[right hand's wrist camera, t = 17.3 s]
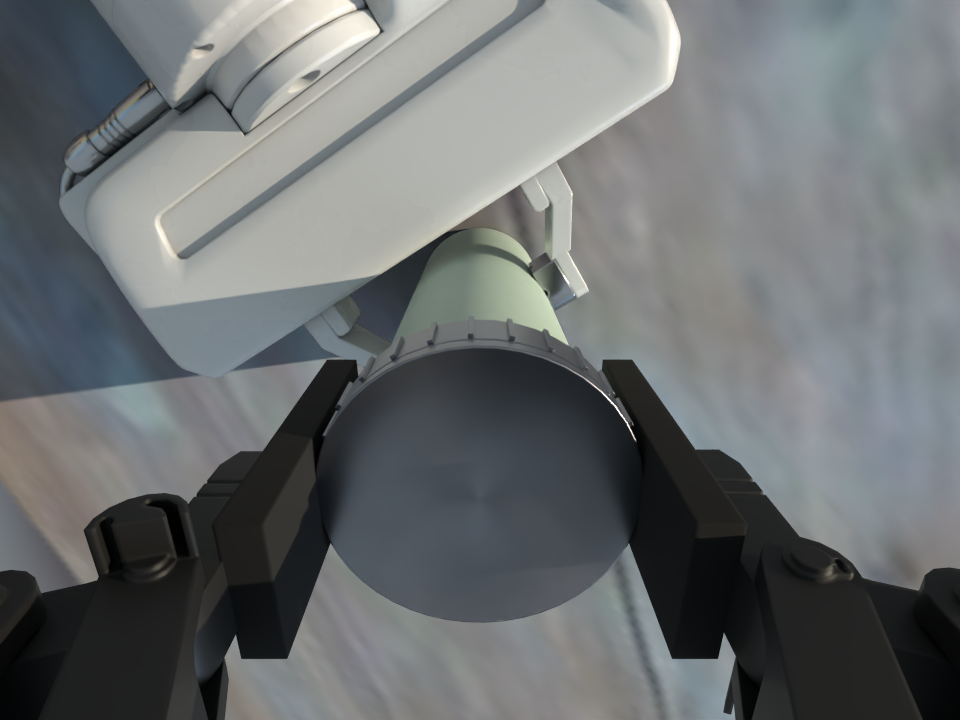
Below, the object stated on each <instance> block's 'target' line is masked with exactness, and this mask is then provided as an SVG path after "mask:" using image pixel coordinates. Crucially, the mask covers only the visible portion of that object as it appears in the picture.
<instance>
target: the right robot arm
mask: <svg viewBox="0 0 960 720" xmlns="http://www.w3.org/2000/svg"><path fill="white" fill-rule="evenodd" d="M602 371H603V373H604V374H605V376H606V378H607V380H608V382H609V384H610V385H611V387H612V389H613V391H614V393H615V396H614V398H615V399H616V398H619V399H620V401H621V403H622V404H623V406H624V408H625V410H626V412H627V413H628V415H629V417H630V419H631V421H632V423H633V426H631V427H630V428H631V430H632V432H633V434H634V436H635V438H636V441H637V444H638V447H639V450H640V454H641V457H642V463H643V470H644V477H643V486H642V494H641V501H640V509H639V516H638V523H637V526H636V529H635V531H634V533H633V535H632V537H631V539H630V541H629V544H630V547H631V550H632V552H633V555H634V558H635V560H636V563H637V566H638V568H639V571H640V574H641V576H642V579H643V582H644V584H645V587H646V590H647V592H648V595H649V598H650V601H651V603H652V606H653V609H654V611H655V614H656V617H657V619H658V622H659V625H660V627H661V630H662V633H663V635H664V638H665V641H666V643H667V646H668V649H669V651H670V654H671V657H672V659H718V656H719V652H720V647H721V643H722V638H723V634H724V633H725V635H726V637H727V639H728V641H729V643H730V645H731V647H732V649H733V651H734V653H735V655H736V658H735V662H734V667H733V671H732V675H731V679H730V683H729V687H728V692H727V696H726V700H725V706H724V713H727V714H731V712H732V708H733V704H734V709H735V718H736V720H960V569H956V568H939V569H933V570H932V571H930V572H929V573H927V574H926V575H925V576H924V579H923V582H922V584H921V587H920V589H919V591H917V590H912V589H908V588H903V587H898V586H894V585H889V584H885V583H880V582H876V581H871V580H868V579H864V578H862V576H861V575H860V573H859V572H858V571H857V569H856V568H855V566H854V565H853V564H852V563H851V562H850V561H849V560H847V559H846V558H845V557H844V556H842V555H841V554H840V553H839V552H837V551H835V550H833V549H831V548H829V547H827V546H825V545H823V544H821V543H819V542H816V541H812V540H809V539H805V538H802V537H799V535H798V534H797V533H796V532H795V530H794V529H793V528H792V527H791V526H790V524H789V523H788V522H787V521H786V519H785V518H784V517H783V516H782V514H781V513H780V512H779V511H778V510H777V508H776V507H775V506H774V505H773V503H772V502H771V501H770V500H769V498H768V497H767V496H766V495H763V491H762V490H761V489H760V487H759V486H758V485H757V484H756V483H755V482H753V481H752V478H751V476H750V475H749V474H748V473H747V471H746V470H745V469H744V468H743V467H742V465H741V464H740V463H739V462H737V461H736V460H734V459H733V458H731V457H730V456H728V455H726V454H725V453H723V452H722V451H720V450H695V448H694V447H693V446H692V444H691V443H690V441H689V440H688V438H687V437H686V436H685V434H684V433H683V431H682V430H681V428H680V427H679V426H678V424H677V423H676V421H675V420H674V419H673V417H672V416H671V414H670V413H669V411H668V410H667V409H666V407H665V406H664V404H663V403H662V402H661V400H660V399H659V397H658V396H657V394H656V393H655V392H654V390H653V389H652V387H651V386H650V384H649V383H648V382H647V380H646V379H645V377H644V376H643V375H642V373H641V372H640V370H639V369H638V367H637V366H636V365H635V363H634V362H633V360H603V364H602ZM357 378H358V371H357V360H327V361H326V362H325V364H324V365H323V367H322V368H321V369H320V371H319V372H318V374H317V375H316V376H315V378H314V379H313V381H312V382H311V384H310V385H309V386H308V388H307V389H306V391H305V392H304V394H303V395H302V396H301V398H300V399H299V401H298V402H297V403H296V405H295V406H294V408H293V409H292V411H291V412H290V413H289V415H288V416H287V418H286V419H285V421H284V422H283V423H282V425H281V426H280V428H279V429H278V430H277V432H276V433H275V435H274V436H273V438H272V439H271V440H270V442H269V443H268V445H267V446H266V448H265V449H264V450H263V451H241V452H239V453H238V454H236V455H234V456H233V457H231V458H230V459H228V460H227V461H225V462H224V463H222V464H221V465H220V466H219V467H218V468H217V469H216V470H215V472H214V473H213V474H212V475H211V477H210V478H209V479H208V480H207V484H204V485H203V487H202V488H201V489H200V490H199V492H198V493H197V497H194V498H193V499H192V500H191V501H190V503H189V504H188V503H187V502H186V501H185V500H184V499H183V498H181V497H180V496H178V495H172V494H167V493H160V494H147V495H143V496H139V497H136V498H132V499H128V500H126V501H123V502H121V503H119V504H117V505H114V506H112V507H110V508H108V509H107V510H105V511H104V512H102V513H101V514H99V515H98V516H96V517H95V518H93V520H92V521H91V522H90V523H89V524H88V526H87V527H86V528H85V529H84V533H85V536H86V539H87V542H88V545H89V548H90V551H91V554H92V557H93V560H94V563H95V566H96V569H97V572H98V575H99V577H98V580H97V581H93V582H90V583H86V584H81V585H77V586H72V587H68V588H63V589H59V590H54V591H50V592H45V593H41V592H40V589H39V586H38V584H37V581H36V579H35V577H33V576H32V575H31V574H29V573H28V572H26V571H16V570H8V571H2V572H0V720H225V710H226V700H227V691H228V681H229V679H228V672H227V667H226V662H225V658H224V657H225V655H226V653H227V651H228V649H229V647H230V645H231V643H232V641H233V639H234V637H235V635H236V637H237V641H238V646H239V650H240V654H241V659H287V658H288V655H289V653H290V650H291V647H292V645H293V642H294V639H295V637H296V634H297V631H298V629H299V626H300V623H301V620H302V618H303V615H304V612H305V610H306V607H307V604H308V602H309V599H310V596H311V594H312V591H313V588H314V586H315V583H316V580H317V578H318V575H319V572H320V570H321V567H322V564H323V561H324V559H325V556H326V553H327V551H328V548H329V545H330V543H331V542H330V540H329V539H328V537H327V534H326V532H325V529H324V527H323V525H322V521H321V514H320V507H319V499H318V492H317V484H316V466H317V461H318V457H319V452H320V448H321V446H322V443H323V441H324V440H322V439H321V438H322V435H323V433H324V431H325V430H326V428H327V426H328V424H329V422H330V420H331V418H332V417H333V415H334V413H335V411H338V409H336V408H335V407H336V405H337V403H338V401H339V400H340V398H341V396H342V394H343V392H344V391H345V389H346V387H347V385H348V383H349V382H352V383H354V381H355V380H356V379H357Z"/></svg>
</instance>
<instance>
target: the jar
mask: <svg viewBox="0 0 960 720" xmlns="http://www.w3.org/2000/svg"><path fill="white" fill-rule="evenodd" d="M530 262H531V259H530V257H529V256H528V254H527V252H526V251H525V250H524V249H523V247H522V246H521V245H520V244H519V243H518V242H517V241H515V240H514V239H513V238H511V237H510V236H508V235H506V234H504V233H502V232H499V231H497V230H492V229H487V228H472V229H467V230H463V231H460V232H458V233H455V234H453V235H451V236H450V237H448V238H447V239H445V240H444V241H443V242H442V243H441V244H439V246H438V247H437V248H436V249H435V250H434V252H433V253H432V255H431V256H430V258H429V260H428V262H427V264H426V267H425V269H424V271H423V274H422V276H421V278H420V280H419V283H418V285H417V287H416V289H415V292H414V294H413V296H412V298H411V301H410V303H409V305H408V308H407V310H406V312H405V314H404V317H403V319H402V321H401V323H400V326H399V328H398V330H397V333H396V335H395V337H394V339H393V342H392V344H391V346H392V345H393V344H395V342H396V339H397V337H399V336H401V335H402V337H403V338H406V337H407V336H409V335H411V334H413V333H416V332H418V331H421V330H424V329H427V328H429V327H430V326H431V323H433V322H437V325H440V324H445V323H449V322H454V321H465V320H469V316H474V320H497V321H504V322H506V321H507V318H509V319H512V320H513V323H516V324H520V325H523V326H527V327H530V328H534V329H537V330H539V331H541V332H542V331H543V329H546V330H548V331H549V334H550V336H553V337H555V338H556V339H558V340H560V341H561V342H563V343H565V344H566V345H568V343H567V341H566V338H565V336H564V334H563V332H562V329H561V327H560V325H559V323H558V320H557V318H556V316H555V313H554V311H553V309H552V307H551V304H550V302H549V300H548V298H547V295H546V293H545V291H544V290H543V289H542V288H541V287H540V286H539V284H538V283H537V281H536V279H535V278H534V276H533V274H532V272H531V269H530V267H529V265H528V263H530ZM568 346H569V345H568Z"/></svg>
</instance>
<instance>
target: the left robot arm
mask: <svg viewBox="0 0 960 720" xmlns="http://www.w3.org/2000/svg"><path fill="white" fill-rule="evenodd" d="M90 1H91V2H92V4H93V5H94V6H95V8H96V9H97V10H98V12H99V13H100V14H101V16H102V17H103V18H104V20H105V21H106V22H107V24H108V25H109V26H110V28H111V29H112V30H113V32H114V33H115V34H116V35H117V37H118V38H119V39H120V41H121V42H122V43H123V45H124V46H125V47H126V49H127V50H128V51H129V53H130V54H131V55H132V57H133V58H134V59H135V61H136V62H137V63H138V65H139V66H140V67H141V68H142V70H143V71H144V72H145V74H146V75H147V76H148V79H146V80H145V81H144V82H143V83H141V84H140V85H139V86H138V87H137V88H136V89H135V90H134V91H132V92H131V93H130V94H129V95H127V96H126V97H125V98H124V99H123V100H121V101H120V102H119V103H118V104H117V105H116V106H115V107H114V109H113V110H112V111H111V112H110V113H109V114H108V115H107V116H106V117H105V119H104V120H102V121H101V122H100V123H99V124H98V125H97V126H95V127H94V128H93V129H92V130H86V131H85V132H83V133H81V134H80V135H78V136H77V137H76V138H75V139H73V140H72V141H71V143H70V144H69V145H68V146H67V147H66V148H65V150H64V152H63V154H62V160H63V162H64V163H65V165H66V166H65V168H64V170H63V172H62V174H61V178H60V185H59V191H60V200H59V206H60V208H61V211H62V213H63V214H64V216H65V218H66V219H67V221H68V222H69V223H70V224H71V226H72V227H73V228H74V229H75V230H76V231H77V232H78V233H79V235H80V236H81V237H82V238H83V239H84V240H85V241H86V243H87V244H88V245H89V246H90V247H91V248H92V249H93V250H94V252H95V253H96V254H97V255H99V257H100V259H101V260H102V262H103V264H104V265H105V267H106V268H107V270H108V272H109V273H110V275H111V276H112V278H113V279H114V281H115V282H116V284H117V286H118V287H119V289H120V290H121V292H122V293H123V294H124V296H125V297H126V299H127V300H128V302H129V303H130V305H131V306H132V307H133V309H134V310H135V312H136V313H137V314H138V316H139V317H140V318H141V320H142V321H143V323H144V324H145V325H146V327H147V328H148V329H149V331H150V332H151V333H152V335H153V336H154V337H155V338H156V340H157V341H158V342H159V344H160V345H161V346H162V347H163V349H164V350H165V351H166V352H167V354H168V355H169V356H170V357H171V358H172V359H173V360H174V361H175V363H176V364H177V365H179V366H180V367H181V368H183V369H184V370H187V371H190V372H193V373H196V374H199V375H202V376H205V377H209V378H212V379H217V378H220V377H222V376H224V375H225V374H227V373H228V372H230V371H231V370H233V369H235V368H236V367H238V366H239V365H241V364H242V363H244V362H245V361H247V360H248V359H250V358H252V357H253V356H255V355H256V354H258V353H259V352H261V351H262V350H264V349H266V348H267V347H269V346H270V345H272V344H273V343H275V342H276V341H278V340H279V339H281V338H283V337H284V336H286V335H287V334H289V333H290V332H292V331H293V330H295V329H297V328H298V327H300V326H301V325H304V326H305V327H306V328H307V330H308V331H309V332H310V334H311V335H312V336H313V337H314V339H315V340H316V341H317V343H318V344H319V345H320V346H321V348H322V349H324V350H326V351H328V352H331V353H333V354H335V355H338V356H340V357H342V358H344V359H347V360H357V364H358V365H360V366H363V367H365V365H366V363H367V361H368V359H369V358H370V357H371V356H373V357H374V358H376V357H377V356H378V355H379V354H380V353H382V352H383V351H385V350H386V349H387V348H389V347H390V346H391V344H392V343H391V342H389V341H387V340H386V339H384V338H382V337H380V336H378V335H376V334H374V333H372V332H370V331H368V330H366V329H365V328H363V327H361V326H359V325H357V324H355V322H356V321H357V319H358V318H359V317H360V315H361V310H360V309H359V308H358V306H357V305H356V303H355V302H354V301H353V299H352V298H351V296H350V295H349V294H351V293H352V292H354V291H356V290H357V289H359V288H360V287H362V286H363V285H365V284H366V283H368V282H369V281H371V280H373V279H374V278H376V277H377V276H379V275H380V274H382V273H383V272H385V271H387V270H388V269H390V268H391V267H393V266H394V265H396V264H397V263H399V262H400V261H402V260H404V259H405V258H407V257H408V256H410V255H411V254H413V253H414V252H416V251H418V250H419V249H421V248H422V247H424V246H425V245H427V244H428V243H430V242H432V241H433V240H435V239H436V238H438V237H439V236H441V235H442V234H444V233H445V232H447V231H449V230H450V229H452V228H453V227H455V226H456V225H458V224H459V223H461V222H463V221H464V220H466V219H467V218H469V217H470V216H472V215H473V214H475V213H477V212H478V211H480V210H481V209H483V208H484V207H486V206H487V205H489V204H490V203H492V202H494V201H495V200H497V199H498V198H500V197H501V196H503V195H504V194H506V193H508V192H509V191H511V190H512V189H514V188H515V187H517V186H519V187H520V189H521V191H522V192H523V194H524V196H525V197H526V199H527V201H528V203H529V204H530V206H531V207H532V208H533V209H534V211H537V212H540V211H542V210H543V209H545V251H546V253H544V254H542V255H541V256H539V257H538V258H536V259H535V260H533V261H531V262H530V263H528V265H529V267H530V269H531V272H532V274H533V276H534V278H535V279H536V281H537V283H538V284H539V286H540V287H541V288H542V289H543V290H544V291H545V293H546V295H547V298H548V300H549V302H550V304H551V306H552V308H553V309H554V311H556V310H557V309H559V308H561V307H563V306H564V305H566V304H568V303H570V302H571V301H573V300H575V299H577V298H578V297H580V296H582V295H583V294H585V293H587V292H589V290H588V288H587V286H586V284H585V282H584V280H583V278H582V277H581V275H580V273H579V271H578V269H577V268H576V266H575V264H574V262H573V261H572V259H571V257H570V255H569V254H568V252H567V251H569V250H570V247H571V219H572V191H571V189H570V187H569V185H568V183H567V181H566V179H565V178H564V176H563V174H562V172H561V170H560V168H559V166H558V164H557V163H556V161H557V160H559V159H560V158H562V157H563V156H565V155H566V154H568V153H570V152H571V151H573V150H574V149H576V148H577V147H579V146H580V145H582V144H584V143H585V142H587V141H588V140H590V139H591V138H593V137H594V136H596V135H598V134H599V133H601V132H602V131H604V130H605V129H607V128H608V127H610V126H611V125H613V124H615V123H616V122H618V121H619V120H621V119H622V118H624V117H625V116H627V115H629V114H630V113H632V112H633V111H635V110H636V109H638V108H639V107H641V106H642V105H644V104H646V103H647V102H649V101H650V100H652V99H653V98H655V97H656V96H658V95H659V94H661V93H663V92H664V91H666V90H667V89H668V88H669V87H670V86H671V84H672V82H673V79H674V76H675V72H676V67H677V63H678V57H679V52H680V46H681V39H680V33H679V30H678V27H677V24H676V22H675V19H674V17H673V14H672V11H671V9H670V7H669V5H668V3H667V0H90ZM77 175H80V176H83V177H85V178H84V179H82V180H81V181H80V182H79V183H77V184H76V185H75V186H74V183H75V180H76V177H77Z"/></svg>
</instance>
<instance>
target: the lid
mask: <svg viewBox="0 0 960 720" xmlns="http://www.w3.org/2000/svg"><path fill="white" fill-rule="evenodd" d="M614 396H615V393H614V391H613V389H612V387H611V385H610V384H609V382H608V380H607V378H606V376H605V374H604V373H603V371H602V370H600V371H598V372H597V370H596V369H595V368H594V367H593V366H592V365H591V364H590V363H589V362H588V361H587V360H586V359H585V358H584V357H583V355H582V353H581V351H580V349H579V348H578V347H576V346H575V347H574V348H571V347H570V346H568V345H566V344H565V343H563V342H561V341H560V340H558V339H556V338H555V337H553V336H550V334H549V331H548V330H546V329H543V331H542V332H541V331H539V330H537V329H534V328H530V327H527V326H523V325H520V324H516V323H513V320H512V319H509V318H507V321H506V322H504V321H497V320H474V316H469V320H465V321H454V322H449V323H445V324H440V325H437V322H433V323H431V326H430V327H429V328H427V329H424V330H421V331H418V332H416V333H413V334H411V335H409V336H407V337H406V338H403V337H402V335H401V336H399V337H397V339H396V342H395V344H393V345H392V346H390V347H389V348H387V349H386V350H385V351H383V352H382V353H380V354H379V355H378V356H377V357H376V358H374V357H373V356H371V357H370V358H369V359H368V361H367V363H366V365H365V367H364V369H363V371H362V373H361V374H360V375H359V376H358V378H357V379H356V380H355V381H354V383H352V382H349V383H348V385H347V387H346V389H345V391H344V392H343V394H342V396H341V398H340V400H339V401H338V403H337V405H336V407H335V408H336V409H338V411H335V413H334V415H333V417H332V418H331V420H330V422H329V424H328V426H327V428H326V430H325V431H324V433H323V435H322V438H321V439H322V440H324V441H323V443H322V446H321V448H320V452H319V457H318V461H317V466H316V484H317V492H318V499H319V507H320V514H321V521H322V525H323V527H324V529H325V532H326V534H327V537H328V539H329V540H330V542H331V544H332V545H333V547H334V549H335V551H336V552H337V554H338V555H339V556H340V558H341V559H342V560H343V561H344V563H345V564H346V565H347V566H348V568H349V569H350V570H351V571H352V572H353V573H354V574H355V575H356V576H357V577H358V578H359V579H361V580H362V581H363V582H364V583H365V584H367V585H368V586H369V587H371V588H372V589H373V590H375V591H376V592H377V593H379V594H381V595H382V596H384V597H386V598H387V599H389V600H391V601H392V602H394V603H397V604H399V605H401V606H403V607H405V608H408V609H410V610H413V611H416V612H419V613H422V614H425V615H428V616H432V617H437V618H441V619H445V620H453V621H461V622H498V621H507V620H513V619H519V618H524V617H527V616H531V615H534V614H538V613H541V612H544V611H546V610H549V609H551V608H554V607H556V606H559V605H561V604H563V603H565V602H567V601H568V600H570V599H572V598H574V597H576V596H577V595H579V594H580V593H582V592H583V591H585V590H586V589H588V588H589V587H591V586H592V585H593V584H594V583H595V582H596V581H598V580H599V579H600V578H601V577H602V576H603V575H604V574H605V573H606V572H607V571H608V570H609V569H610V568H611V567H612V566H613V565H614V563H615V562H616V561H617V560H618V558H619V557H620V556H621V554H622V553H623V551H624V550H625V548H626V547H627V545H628V543H629V541H630V539H631V537H632V535H633V533H634V531H635V529H636V526H637V523H638V516H639V509H640V501H641V494H642V486H643V477H644V470H643V463H642V457H641V454H640V450H639V447H638V444H637V441H636V438H635V436H634V434H633V432H632V430H631V428H630V427H631V426H633V423H632V421H631V419H630V417H629V415H628V413H627V412H626V410H625V408H624V406H623V404H622V403H621V401H620V399H619V398H616V399H615V398H614Z"/></svg>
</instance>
